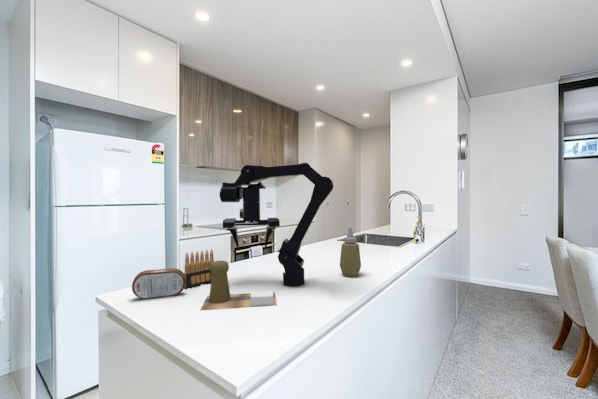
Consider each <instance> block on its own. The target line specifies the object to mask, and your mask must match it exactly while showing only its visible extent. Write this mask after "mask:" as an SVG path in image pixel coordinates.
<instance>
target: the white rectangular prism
mask: <svg viewBox="0 0 598 399" xmlns="http://www.w3.org/2000/svg"><path fill="white" fill-rule="evenodd" d="M273 292H274V291H272V290H270V291H268V290H267V291H252V292H250V293H251V306H261V307H264V306H263V305H273Z"/></svg>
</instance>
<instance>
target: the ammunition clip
mask: <svg viewBox="0 0 598 399" xmlns="http://www.w3.org/2000/svg"><path fill="white" fill-rule="evenodd" d="M184 260H185V261H184V272H183V273H184V274H185V276H186V284H185V287H184V289H186V290H189V289H188V288H190V289H193V288H192V287H194V288H197V286H198V287H201V285H203V286H204V285H211V279H212V273H211V271H210V265H211V263H212V262H215V257H214V251H213V249H210V252H209V251H208V249H206V250H205V254H204V251H203V250H201V251H200V253H199V251H198V250H197V251H196V253H195V254H194V252H193V251H191V253H190V257H189V254H188V252H186V254H185V258H184Z"/></svg>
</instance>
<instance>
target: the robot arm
mask: <svg viewBox="0 0 598 399" xmlns="http://www.w3.org/2000/svg"><path fill="white" fill-rule="evenodd" d="M296 176H304V177H305V178H306V179H308V181H310V183H312V184H313V185H314V186H313V189H312V192H311V193H312V194H311V197H310V201H309V202H308V205H307V206H306V209H305V211H304V213H303V214H302V216H301V218H300V220H299V222H298V224H297V225H296V227H295V230H294V232H293V233H292V236H291V238H289V239H288V238H285V239H284V240H283V241H282V243H281V247H280V249H278V250H277V253H278V255H277V259H278V262H279V263H280V265H282V267H283V269H284V272H282V284H283V287H284V286H285V287H301V286H305V268H304V267H303V265H304V263H305V259H303V257H301V256H300V254H299V253H300V249H301V246H302V242H303V240H304V238H305V236H306V234H307V232H308V230H309V229H310V227H311V225H312V223H313V221H314V218H315V217H316V215H317V213H318V211H319V209H320V207H321V206H322V204H323V203H324V201H325V200H326V199H327V198H328V197H329V195H330V194H331V193H332V192H333V189H334V182H333V181H332V179H331V178H330V177H328V176H323V175H321V174H320V173H319V172H317V171H316V170H315V169H314V168H313V167H312V166H311V165H310V164H309V163H307V162H302V163H294V164H293V163H291V164H282V165H281V164H280V165H271V166H270V165H269V166H267V165H264V166H263V165H258V164H257V165H256V164H245V165H244V166H243V167H242V168H241V170H240V174H239V176H238V177H237V178H236V180H235V181H234V182H222V186H221V187H220V190H219V199H220V201H221V202H222V203H239V202H240V201H241V200H242V208H239V219H240V220H238V219H237V218H236V217H233V218H225V219H223V221H222V228H223V229H226V231H229V232H230V235H231V236H232V237H233V240H234V243H235V245H236V248H237V249H239V248H240V242H239V236H238V227H237V226H240V227H241V226H266V231H265V237H264V238H265V239H264V248H265V249H266V248H267V246H268V242H269V240H270V237H271V235H272V232H273V231H274V230H276V229H277V228H279V227H280V219H279V218H278V217H267V219H261V190H263V189H264V190H265V189H266V187H267V186H265V185H264V184H263V183H262V182H263V181H265V180H267V179H268V180H269V179H272V178H273V179H274V178H284V177H296ZM242 186H243V187H242ZM245 186H246V187H245Z"/></svg>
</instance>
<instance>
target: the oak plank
mask: <svg viewBox="0 0 598 399" xmlns="http://www.w3.org/2000/svg"><path fill="white" fill-rule="evenodd" d="M272 292H273V305H263V306H251V292H248V293H230V297H231V299H230V300H229V301H227V302H224V303H211V302H209V296H210V295H207V296H206V298H205V300H204V301H203V303H202V306H201V307H200V310H199V311H211V310H224V309H225V310H228V309H242V308H258V307H272V306H273V307H275V306H278V302H277V298H276V292H275V291H272Z"/></svg>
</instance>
